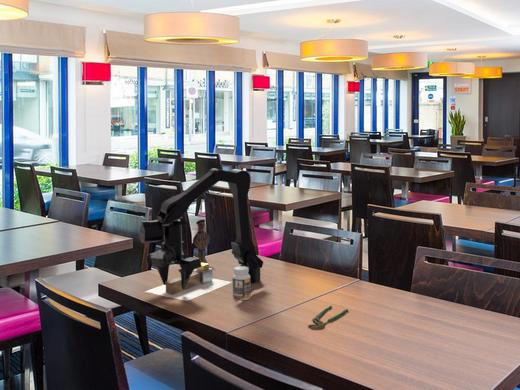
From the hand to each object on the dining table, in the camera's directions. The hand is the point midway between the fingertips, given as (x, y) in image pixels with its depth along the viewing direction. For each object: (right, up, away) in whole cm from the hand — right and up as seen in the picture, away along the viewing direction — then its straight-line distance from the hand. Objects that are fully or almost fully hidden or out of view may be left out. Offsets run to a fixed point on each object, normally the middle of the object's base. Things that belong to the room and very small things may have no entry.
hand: (174, 286), depth 199 cm
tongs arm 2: (+3, -1, +3) cm, 5 cm away
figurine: (+5, +2, +38) cm, 39 cm away
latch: (+8, +4, +12) cm, 15 cm away
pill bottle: (+22, -4, -3) cm, 22 cm away
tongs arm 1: (+2, -1, +4) cm, 5 cm away
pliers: (+46, -6, -21) cm, 52 cm away
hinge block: (+8, 0, +12) cm, 15 cm away
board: (+4, -2, +7) cm, 8 cm away
